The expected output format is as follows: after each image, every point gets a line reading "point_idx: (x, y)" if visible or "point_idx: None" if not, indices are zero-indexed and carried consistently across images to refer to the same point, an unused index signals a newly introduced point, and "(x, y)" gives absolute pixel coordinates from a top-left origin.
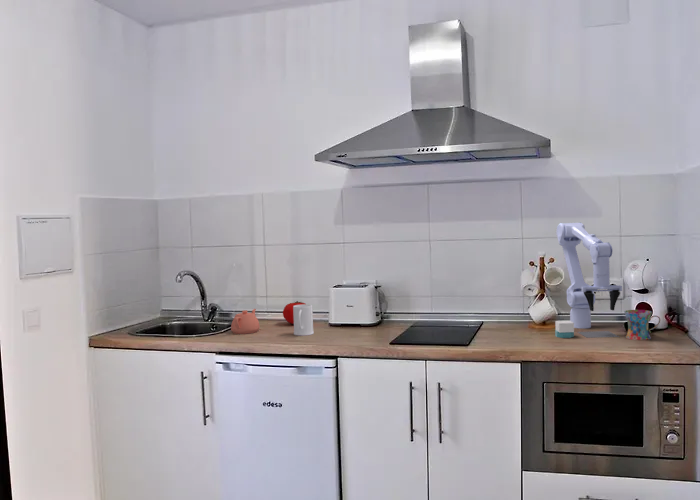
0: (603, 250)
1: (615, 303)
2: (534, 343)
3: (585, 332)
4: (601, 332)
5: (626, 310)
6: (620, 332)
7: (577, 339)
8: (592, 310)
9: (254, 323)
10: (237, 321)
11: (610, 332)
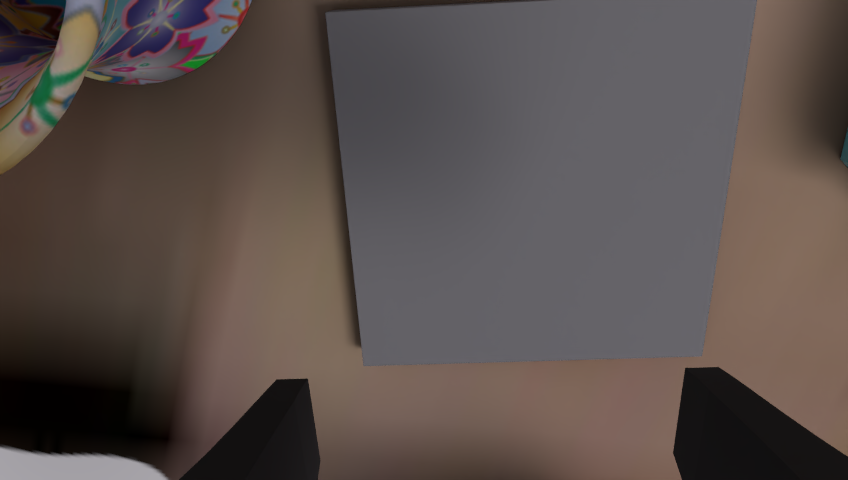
0: None
1: (195, 465)
2: None
3: (628, 316)
4: (458, 300)
5: (28, 121)
6: (238, 395)
7: (821, 63)
8: (712, 369)
9: None
10: None
11: (364, 290)
